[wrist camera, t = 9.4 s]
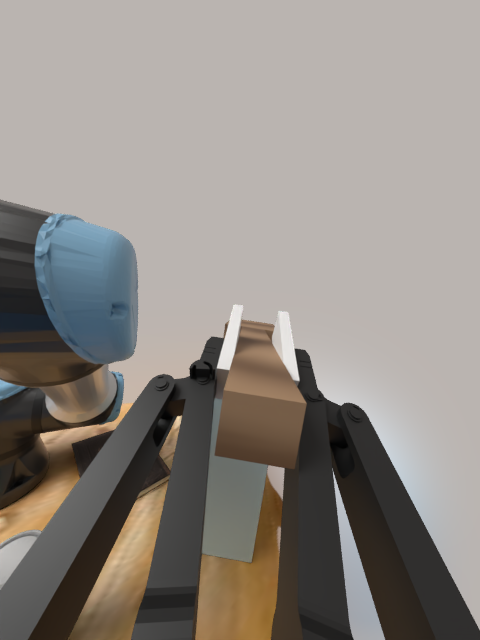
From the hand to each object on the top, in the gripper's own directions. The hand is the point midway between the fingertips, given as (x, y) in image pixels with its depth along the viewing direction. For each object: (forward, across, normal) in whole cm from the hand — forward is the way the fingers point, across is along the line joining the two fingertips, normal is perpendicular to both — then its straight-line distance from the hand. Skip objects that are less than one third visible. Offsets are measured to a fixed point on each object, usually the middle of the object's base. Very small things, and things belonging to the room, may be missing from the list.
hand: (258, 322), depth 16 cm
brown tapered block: (+1, 0, -5) cm, 5 cm away
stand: (-2, 0, -48) cm, 48 cm away
